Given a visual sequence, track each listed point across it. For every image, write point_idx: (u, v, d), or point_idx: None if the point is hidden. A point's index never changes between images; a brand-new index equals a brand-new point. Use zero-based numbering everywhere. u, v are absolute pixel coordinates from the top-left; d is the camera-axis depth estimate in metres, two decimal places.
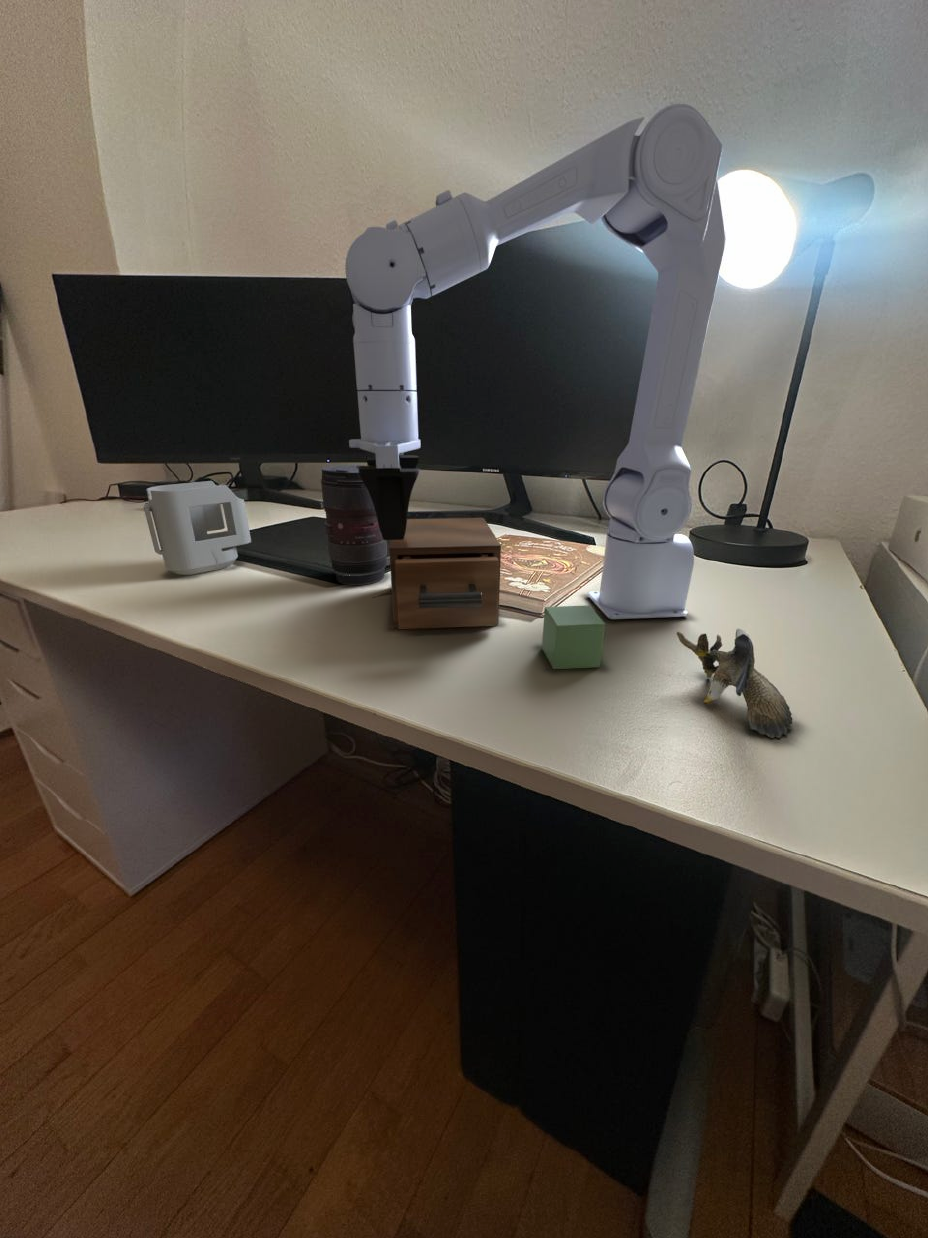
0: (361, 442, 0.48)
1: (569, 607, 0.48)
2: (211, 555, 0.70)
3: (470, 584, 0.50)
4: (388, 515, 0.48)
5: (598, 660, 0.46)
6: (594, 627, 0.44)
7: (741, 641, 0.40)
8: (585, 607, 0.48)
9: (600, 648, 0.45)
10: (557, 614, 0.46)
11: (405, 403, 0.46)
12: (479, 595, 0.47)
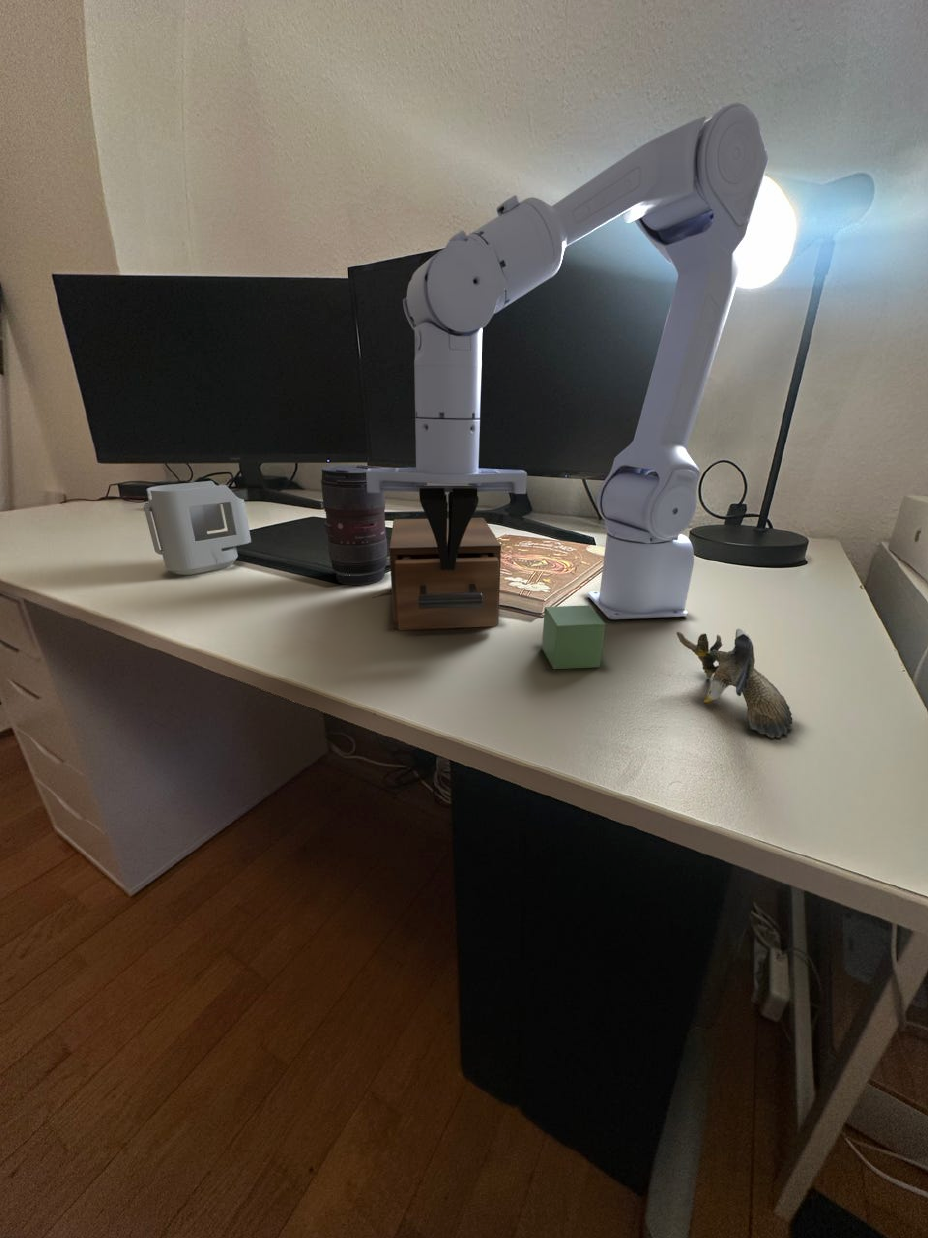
0: None
1: (569, 607, 0.48)
2: (211, 555, 0.70)
3: (470, 584, 0.50)
4: None
5: (598, 660, 0.46)
6: (594, 627, 0.44)
7: (741, 641, 0.40)
8: (585, 607, 0.48)
9: (600, 648, 0.45)
10: (557, 614, 0.46)
11: (422, 431, 0.42)
12: (479, 596, 0.46)
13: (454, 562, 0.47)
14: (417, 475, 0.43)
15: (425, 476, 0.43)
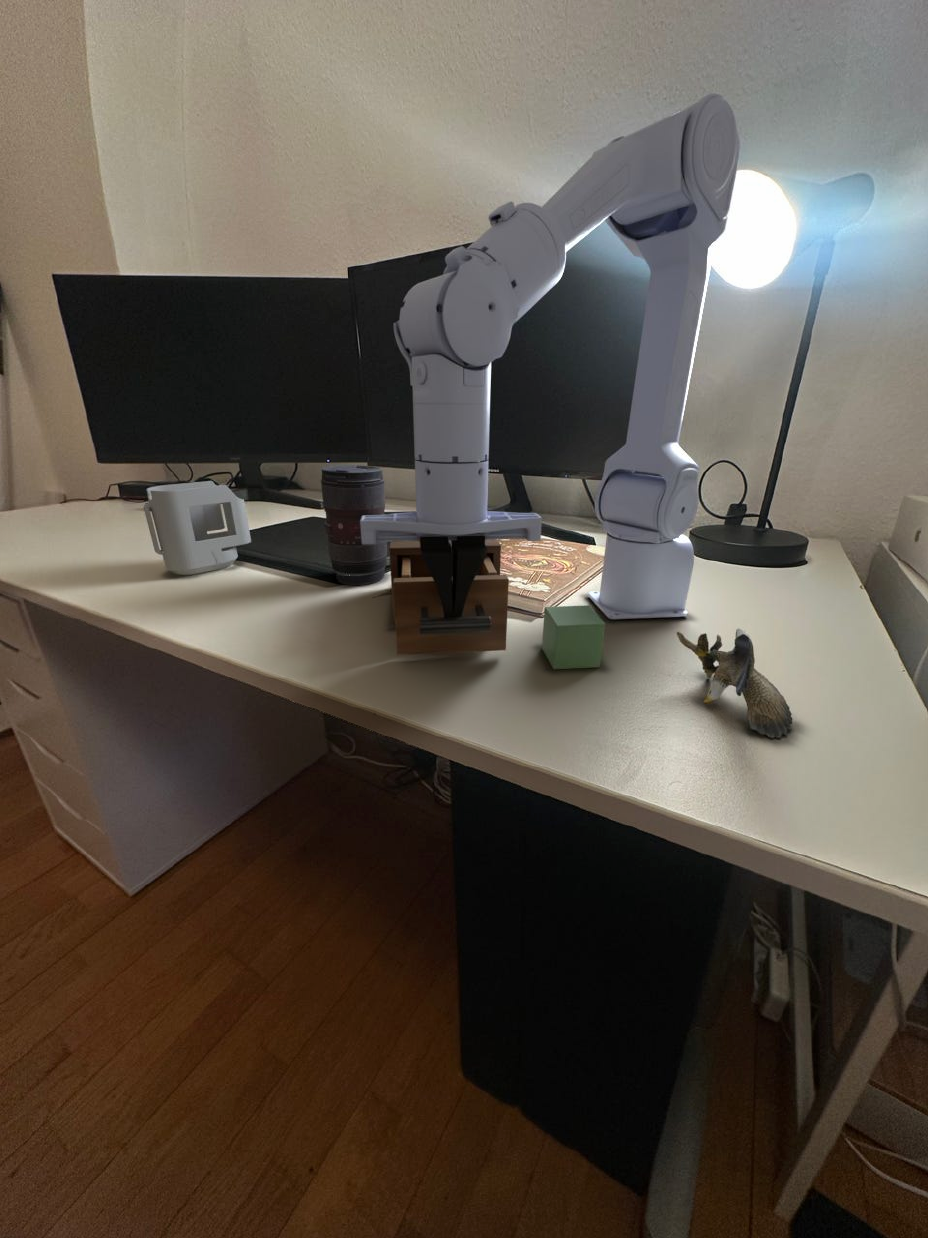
0: None
1: (569, 607, 0.48)
2: (211, 555, 0.70)
3: (477, 605, 0.45)
4: None
5: (598, 660, 0.46)
6: (594, 627, 0.44)
7: (741, 641, 0.40)
8: (585, 607, 0.48)
9: (600, 648, 0.45)
10: (557, 614, 0.46)
11: (423, 476, 0.37)
12: (488, 620, 0.41)
13: None
14: (418, 525, 0.38)
15: (428, 526, 0.37)
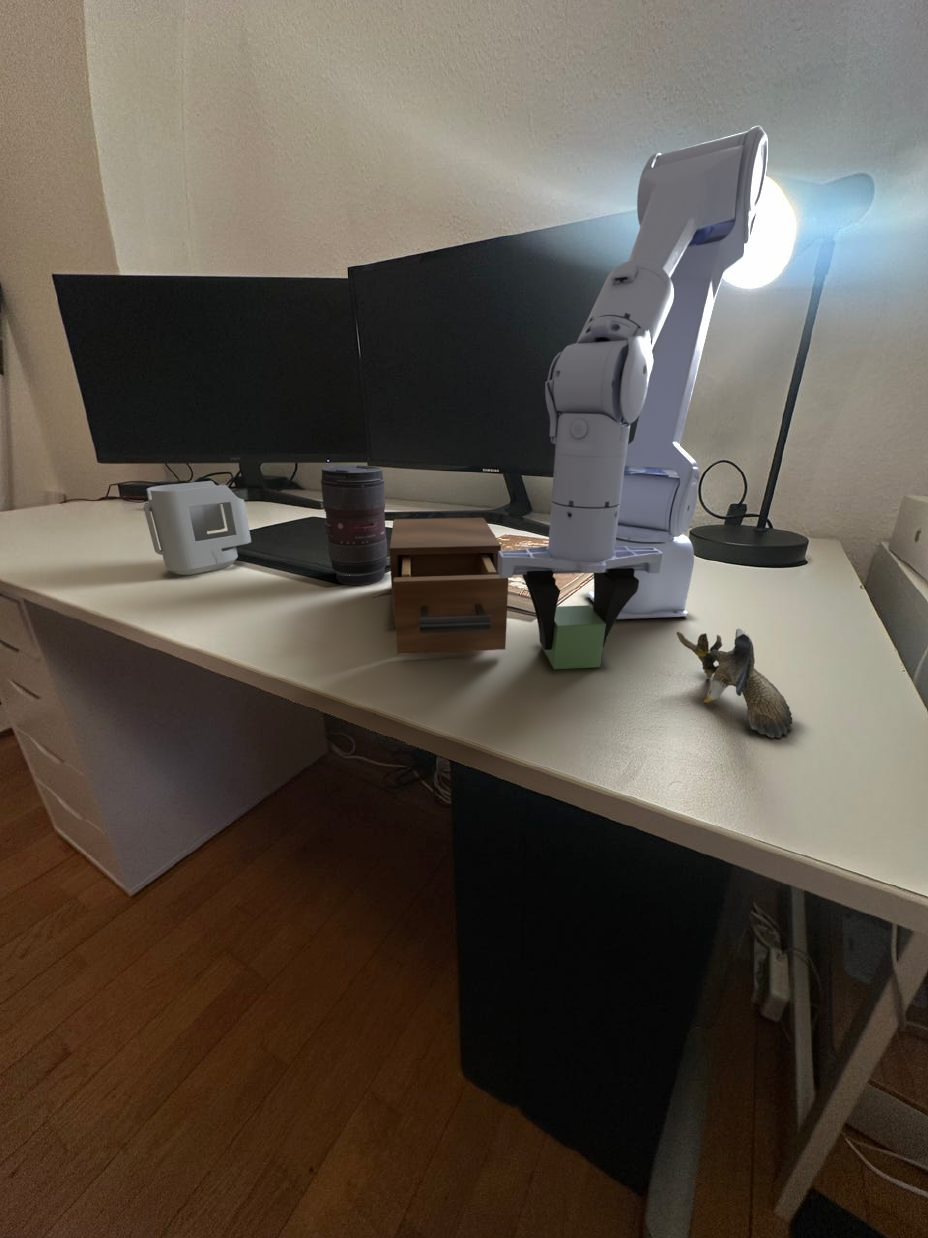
0: (607, 561, 0.41)
1: (569, 607, 0.48)
2: (211, 555, 0.70)
3: (477, 605, 0.45)
4: None
5: (598, 660, 0.46)
6: (595, 627, 0.44)
7: (741, 641, 0.40)
8: (585, 607, 0.48)
9: (600, 648, 0.45)
10: (557, 614, 0.46)
11: None
12: (488, 619, 0.41)
13: (540, 632, 0.48)
14: None
15: None
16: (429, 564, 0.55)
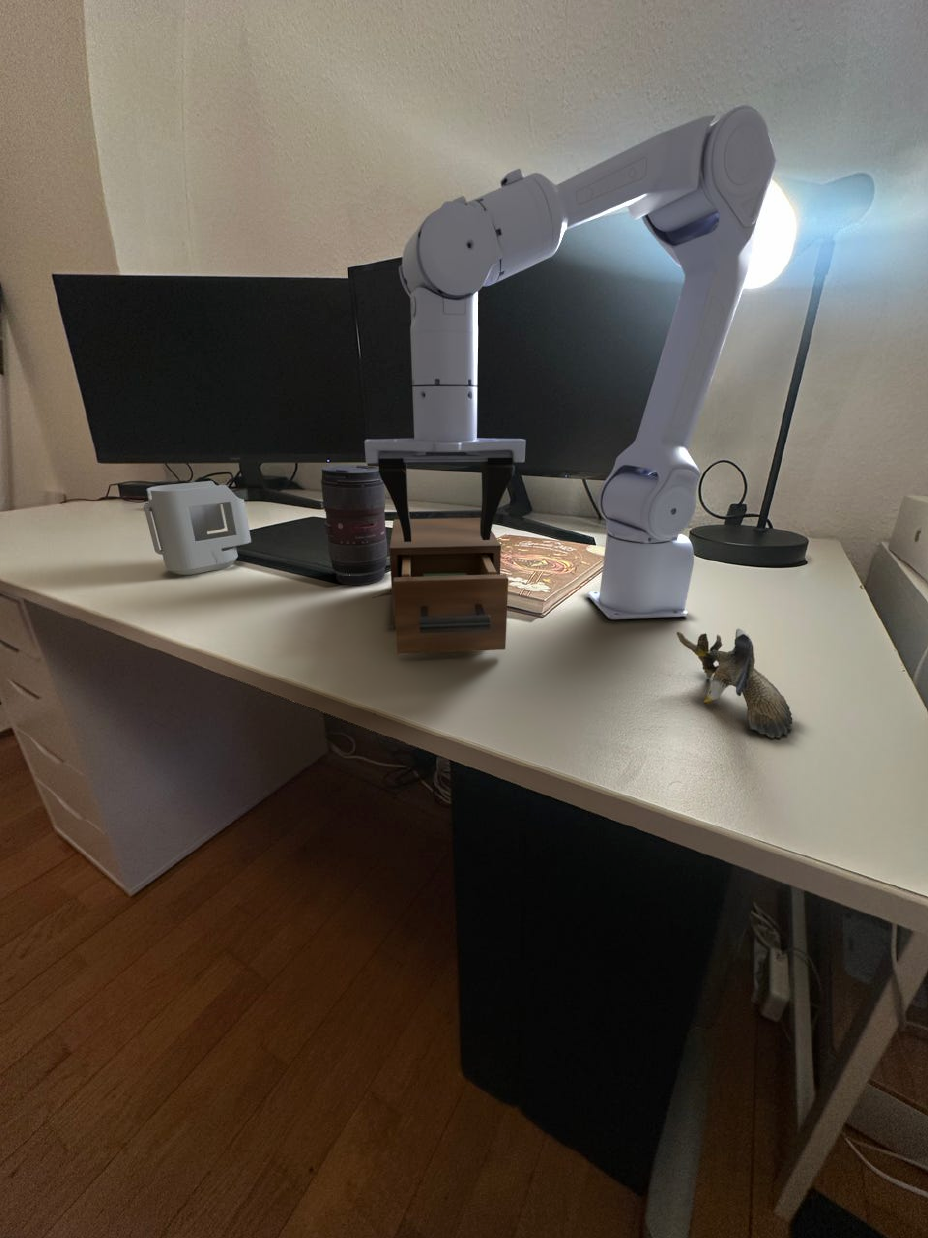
0: (465, 443, 0.43)
1: (446, 574, 0.51)
2: (211, 555, 0.70)
3: (477, 605, 0.45)
4: None
5: None
6: None
7: (741, 641, 0.40)
8: (461, 574, 0.51)
9: None
10: None
11: None
12: (488, 619, 0.41)
13: None
14: None
15: None
16: (429, 564, 0.55)
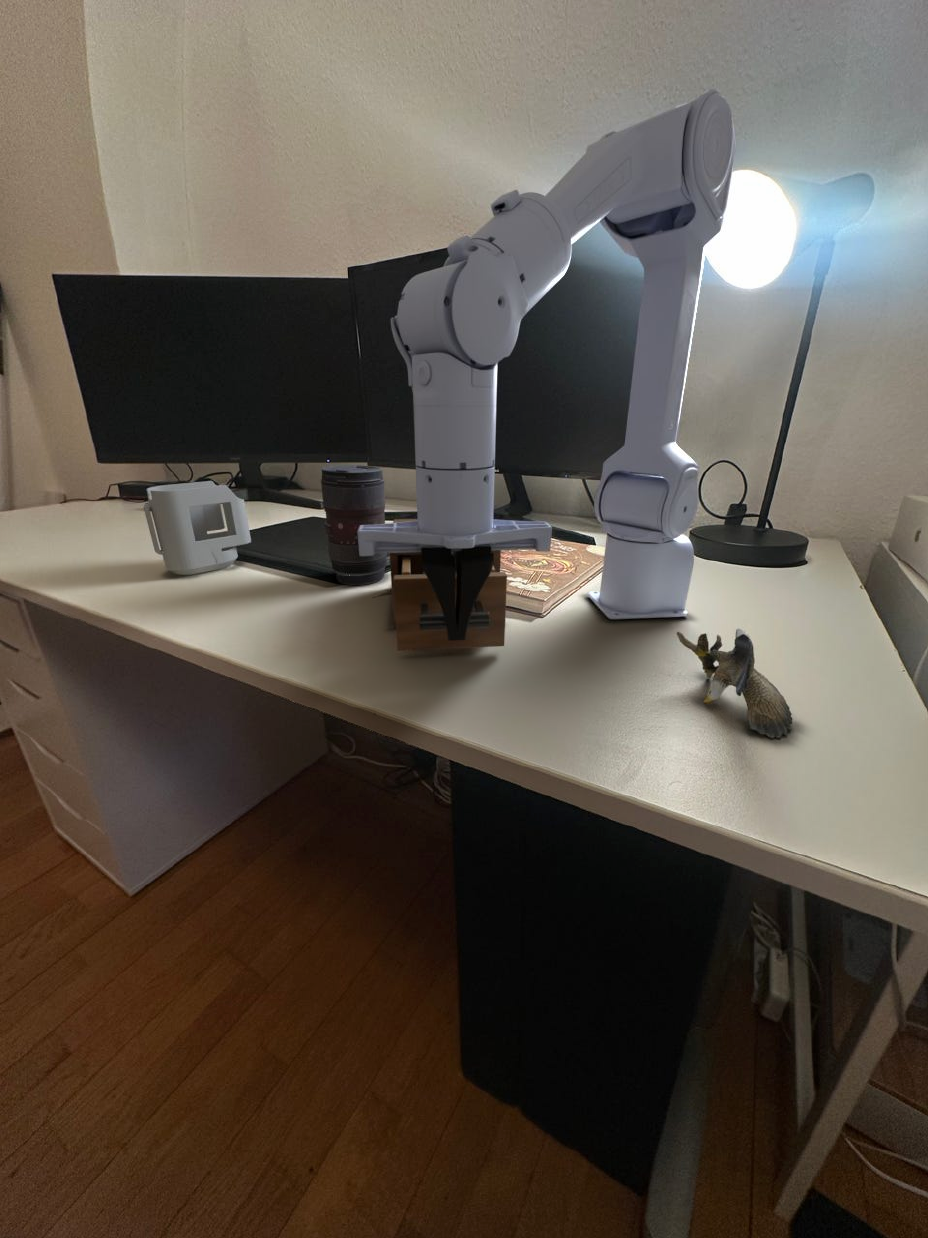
0: (479, 536, 0.35)
1: None
2: (211, 555, 0.70)
3: (476, 602, 0.46)
4: None
5: None
6: None
7: (741, 641, 0.40)
8: None
9: None
10: None
11: None
12: (486, 616, 0.42)
13: None
14: None
15: None
16: None
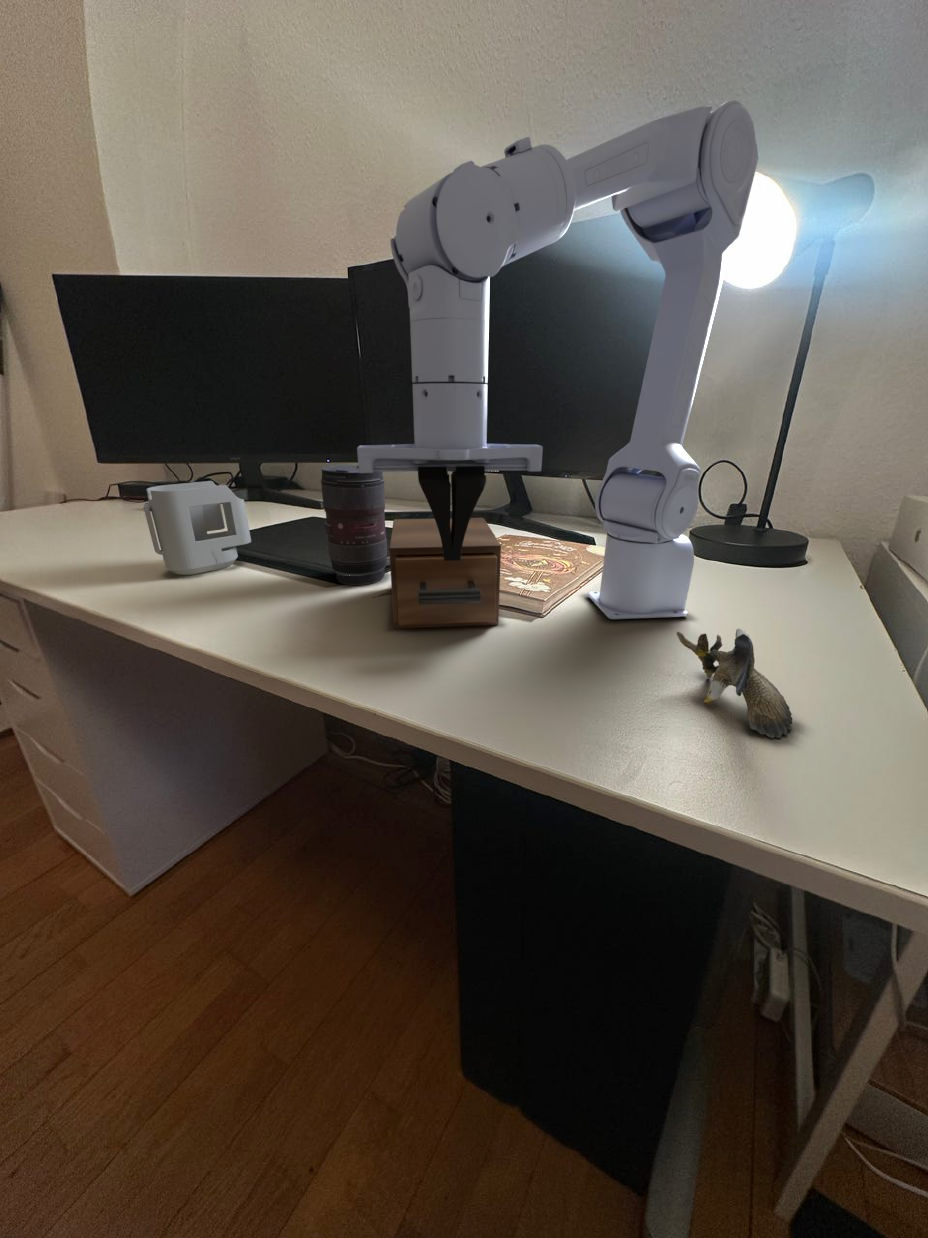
0: (473, 450, 0.37)
1: None
2: (211, 555, 0.70)
3: (469, 581, 0.51)
4: None
5: None
6: None
7: (741, 641, 0.40)
8: None
9: None
10: None
11: None
12: (478, 591, 0.47)
13: None
14: None
15: None
16: None
